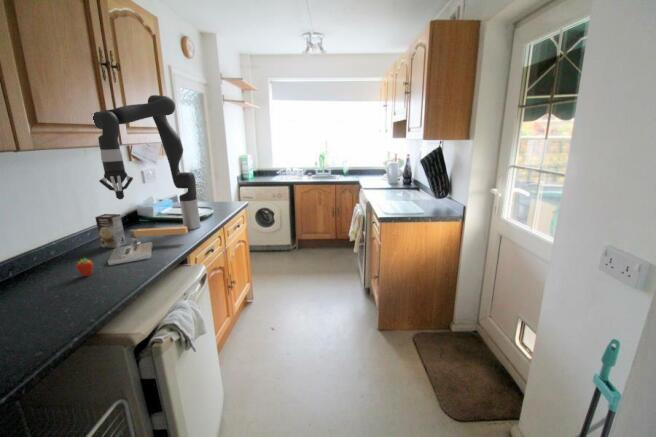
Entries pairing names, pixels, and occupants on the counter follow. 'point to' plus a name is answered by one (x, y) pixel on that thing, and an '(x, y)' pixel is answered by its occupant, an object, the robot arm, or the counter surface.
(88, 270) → the fruit
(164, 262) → the counter surface
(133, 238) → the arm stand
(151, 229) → the swing arm
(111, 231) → the coffee box
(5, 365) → the counter surface
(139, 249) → the plate
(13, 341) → the counter surface
